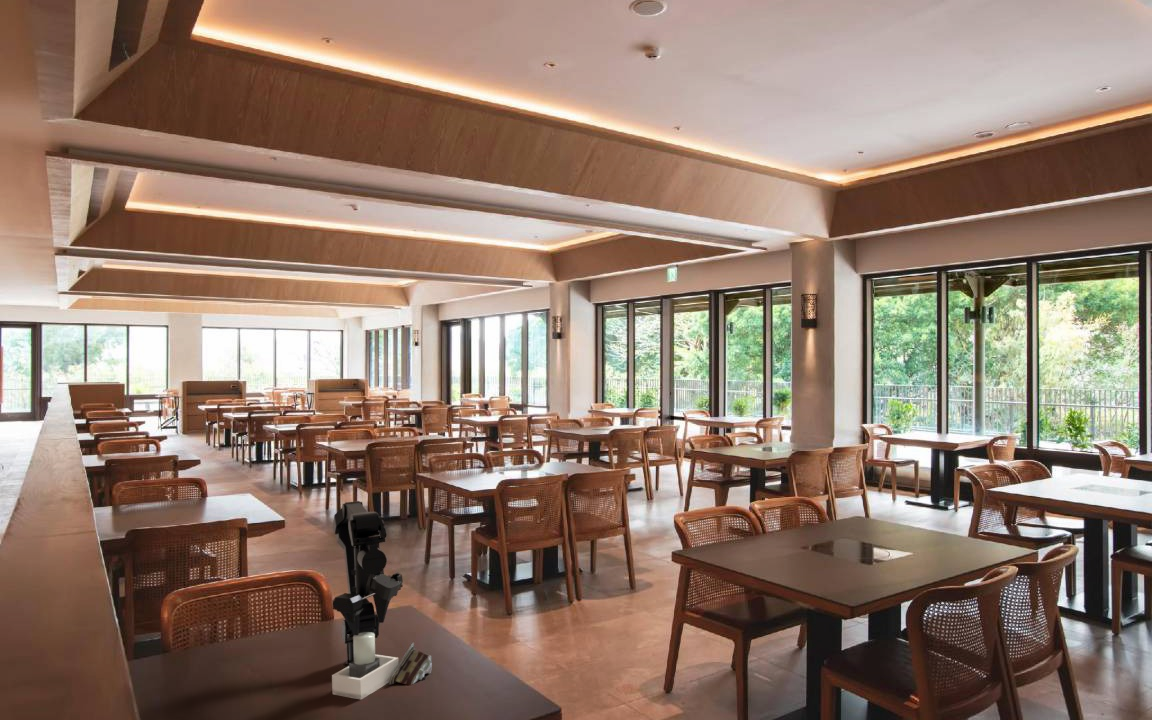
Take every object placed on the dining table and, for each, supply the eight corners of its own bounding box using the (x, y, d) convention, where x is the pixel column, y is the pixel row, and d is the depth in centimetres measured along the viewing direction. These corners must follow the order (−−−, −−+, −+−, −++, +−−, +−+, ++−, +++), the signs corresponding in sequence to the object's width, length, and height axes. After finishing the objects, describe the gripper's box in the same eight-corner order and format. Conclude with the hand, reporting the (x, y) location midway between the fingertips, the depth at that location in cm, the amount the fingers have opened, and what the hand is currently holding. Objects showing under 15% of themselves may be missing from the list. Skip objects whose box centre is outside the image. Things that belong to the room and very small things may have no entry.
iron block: (349, 684, 179) (349, 663, 179) (363, 675, 183) (363, 655, 183) (366, 687, 177) (365, 665, 177) (380, 678, 181) (379, 658, 181)
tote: (332, 694, 175) (331, 675, 176) (371, 671, 188) (371, 653, 188) (361, 699, 172) (360, 680, 172) (399, 676, 185) (398, 657, 185)
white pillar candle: (349, 663, 179) (348, 637, 179) (363, 655, 183) (362, 631, 183) (366, 665, 176) (365, 640, 177) (379, 658, 181) (379, 633, 181)
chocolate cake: (413, 692, 176) (436, 644, 184) (387, 682, 178) (411, 635, 186) (419, 705, 183) (441, 659, 191) (394, 695, 185) (417, 650, 193)
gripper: (367, 577, 170) (369, 646, 170) (416, 557, 187) (419, 619, 187) (329, 573, 175) (332, 640, 175) (381, 554, 192) (383, 615, 192)
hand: (369, 628), depth 182 cm, fingers open, 9 cm apart
